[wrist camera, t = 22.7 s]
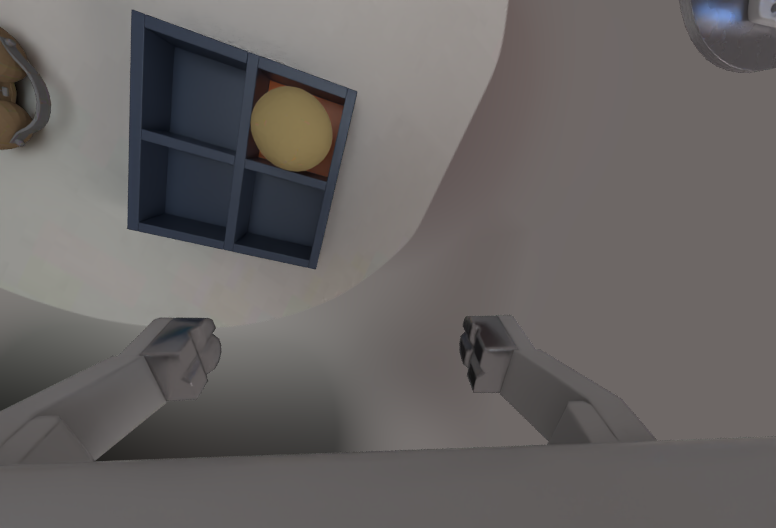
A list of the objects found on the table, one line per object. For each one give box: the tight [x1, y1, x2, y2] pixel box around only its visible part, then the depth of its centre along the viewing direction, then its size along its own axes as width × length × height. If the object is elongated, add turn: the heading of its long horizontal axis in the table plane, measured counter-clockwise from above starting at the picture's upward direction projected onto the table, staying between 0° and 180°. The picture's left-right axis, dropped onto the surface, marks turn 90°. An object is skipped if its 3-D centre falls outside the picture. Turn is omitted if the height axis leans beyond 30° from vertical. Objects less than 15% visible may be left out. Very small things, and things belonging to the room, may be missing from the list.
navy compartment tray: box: [127, 10, 357, 269], centre depth 30 cm, size 18×18×5 cm
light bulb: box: [250, 86, 332, 172], centre depth 26 cm, size 6×6×10 cm
